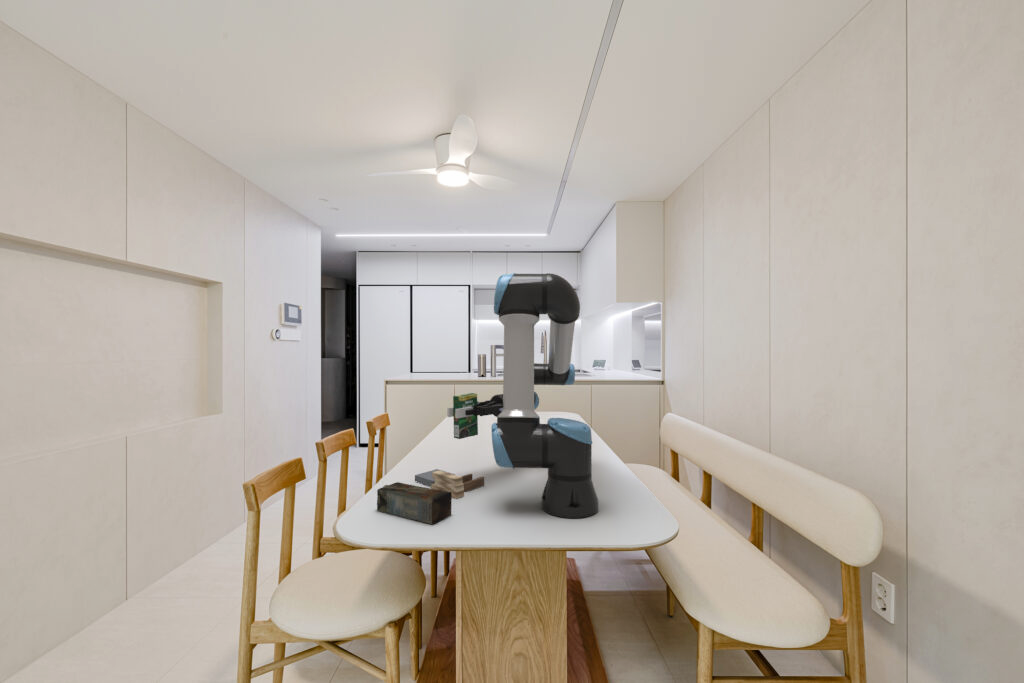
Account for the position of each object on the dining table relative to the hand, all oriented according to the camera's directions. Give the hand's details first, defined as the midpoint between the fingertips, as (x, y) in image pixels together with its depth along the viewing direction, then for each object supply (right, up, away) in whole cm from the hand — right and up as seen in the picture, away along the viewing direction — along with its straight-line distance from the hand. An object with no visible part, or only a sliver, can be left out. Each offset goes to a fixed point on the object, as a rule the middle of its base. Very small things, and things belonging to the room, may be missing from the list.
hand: (452, 413), depth 130 cm
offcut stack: (-1, -23, -3) cm, 23 cm away
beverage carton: (-8, -23, -18) cm, 30 cm away
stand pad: (-7, -23, +9) cm, 26 cm away
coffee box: (+4, -8, +4) cm, 10 cm away
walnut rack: (+4, -23, +3) cm, 24 cm away
